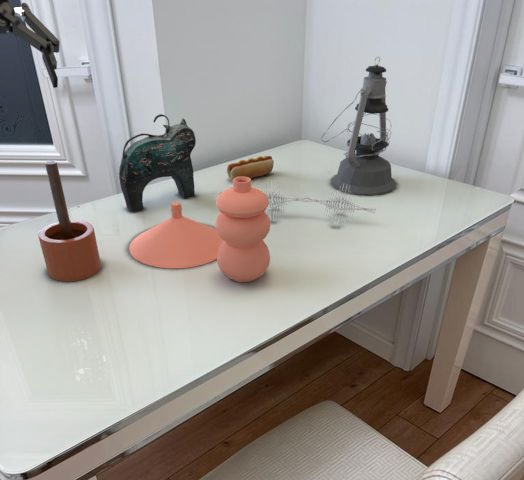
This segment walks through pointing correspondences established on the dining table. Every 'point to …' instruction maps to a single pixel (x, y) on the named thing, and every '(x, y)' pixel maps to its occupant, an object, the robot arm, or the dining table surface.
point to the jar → (70, 251)
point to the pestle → (59, 200)
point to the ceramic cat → (157, 163)
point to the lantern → (367, 143)
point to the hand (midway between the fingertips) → (19, 87)
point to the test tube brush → (315, 201)
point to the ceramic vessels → (213, 236)
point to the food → (250, 167)
